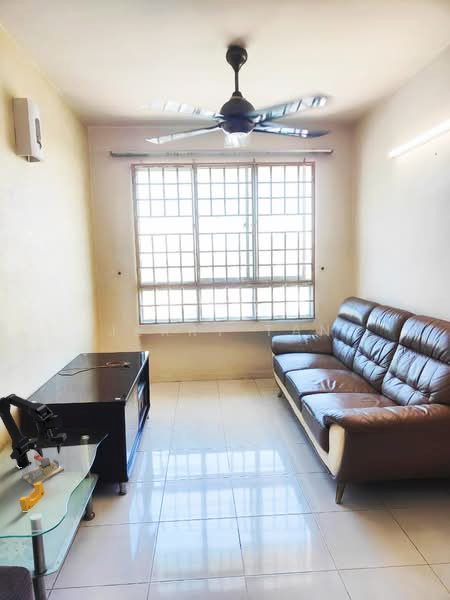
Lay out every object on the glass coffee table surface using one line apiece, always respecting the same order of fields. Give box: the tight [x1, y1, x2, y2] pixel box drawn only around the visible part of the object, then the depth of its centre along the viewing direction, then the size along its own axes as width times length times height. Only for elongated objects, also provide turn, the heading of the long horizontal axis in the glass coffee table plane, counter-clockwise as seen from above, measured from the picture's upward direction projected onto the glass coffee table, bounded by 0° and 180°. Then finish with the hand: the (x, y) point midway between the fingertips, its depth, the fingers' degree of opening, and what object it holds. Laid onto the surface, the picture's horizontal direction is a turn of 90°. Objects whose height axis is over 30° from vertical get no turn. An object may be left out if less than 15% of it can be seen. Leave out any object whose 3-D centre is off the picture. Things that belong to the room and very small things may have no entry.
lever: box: [33, 453, 50, 467], centre depth 197 cm, size 14×4×2 cm, turn 49°
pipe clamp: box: [18, 482, 46, 511], centre depth 172 cm, size 12×4×6 cm, turn 170°
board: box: [21, 459, 65, 488], centre depth 196 cm, size 16×15×1 cm
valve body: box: [27, 458, 60, 482], centre depth 194 cm, size 6×14×4 cm, turn 139°
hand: (50, 455), depth 202 cm, fingers open, 8 cm apart
